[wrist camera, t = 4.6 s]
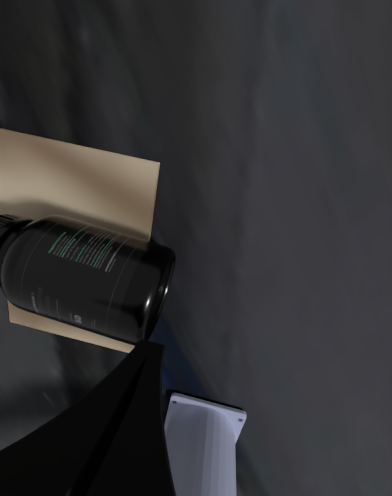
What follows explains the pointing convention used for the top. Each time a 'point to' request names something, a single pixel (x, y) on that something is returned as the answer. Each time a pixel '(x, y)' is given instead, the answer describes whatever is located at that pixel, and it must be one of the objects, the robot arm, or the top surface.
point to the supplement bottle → (84, 275)
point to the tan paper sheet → (75, 199)
